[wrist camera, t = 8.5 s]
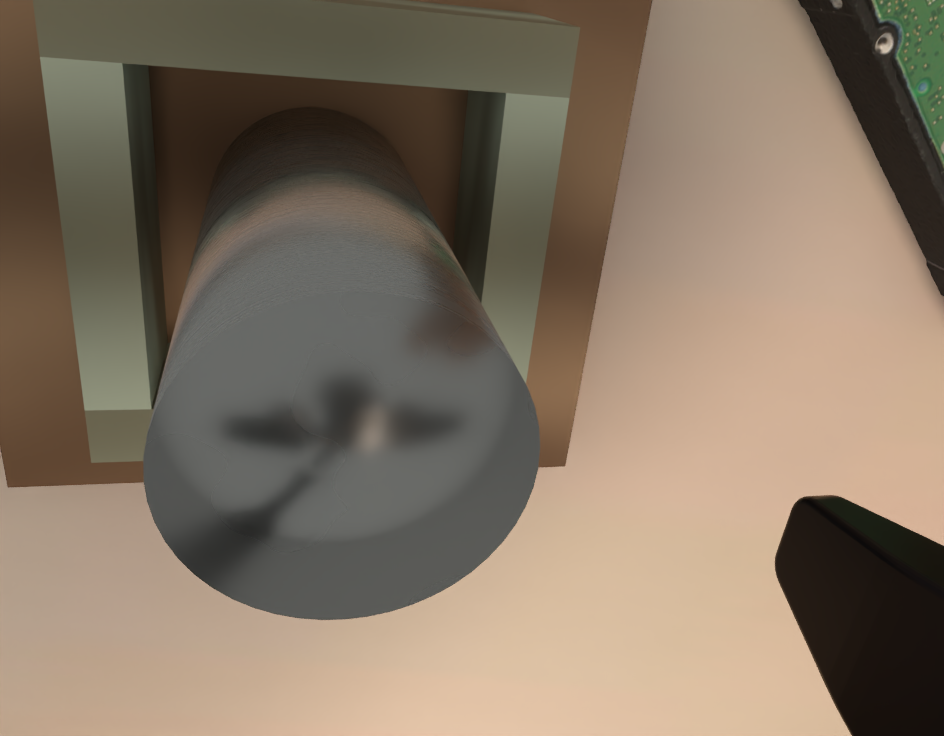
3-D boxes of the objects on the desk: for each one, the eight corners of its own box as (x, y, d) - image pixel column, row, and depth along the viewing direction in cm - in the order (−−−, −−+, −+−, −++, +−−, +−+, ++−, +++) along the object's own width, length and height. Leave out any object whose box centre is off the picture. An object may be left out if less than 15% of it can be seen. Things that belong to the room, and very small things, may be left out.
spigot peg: (407, 305, 19) (513, 607, 11) (213, 302, 18) (157, 632, 10) (422, 115, 17) (568, 295, 9) (206, 99, 16) (126, 286, 8)
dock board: (553, 446, 23) (603, 534, 20) (19, 463, 20) (-33, 572, 17) (653, -112, 17) (749, -124, 14) (-101, -224, 14) (-224, -276, 10)
